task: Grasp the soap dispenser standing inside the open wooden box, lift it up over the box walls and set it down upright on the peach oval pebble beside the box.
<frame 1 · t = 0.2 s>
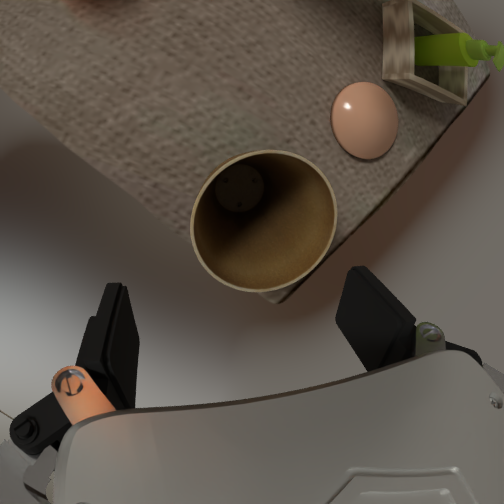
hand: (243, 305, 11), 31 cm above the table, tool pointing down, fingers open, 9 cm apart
peach oval pebble: (364, 120, 40), on the table
soap dispenser: (414, 53, 35), resting in open wooden box
open wooden box: (415, 53, 35), on the table
plant pot: (239, 185, 41), on the table
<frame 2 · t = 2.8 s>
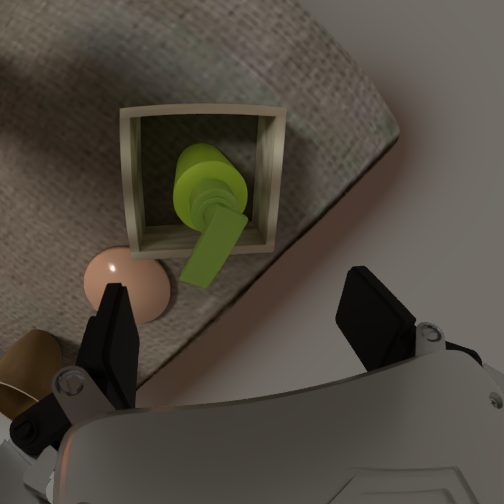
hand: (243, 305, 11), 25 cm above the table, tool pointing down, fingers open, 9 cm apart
peach oval pebble: (127, 285, 38), on the table
soap dispenser: (198, 170, 33), resting in open wooden box
open wooden box: (198, 170, 33), on the table
plant pot: (44, 342, 39), on the table
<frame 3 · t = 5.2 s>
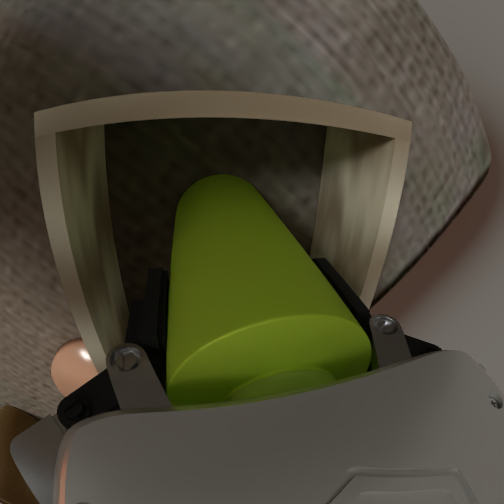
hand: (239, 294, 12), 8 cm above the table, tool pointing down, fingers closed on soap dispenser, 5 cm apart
peach oval pebble: (112, 381, 23), on the table
soap dispenser: (216, 223, 19), resting in open wooden box, touching gripper
open wooden box: (216, 224, 18), on the table
plant pot: (22, 417, 25), on the table
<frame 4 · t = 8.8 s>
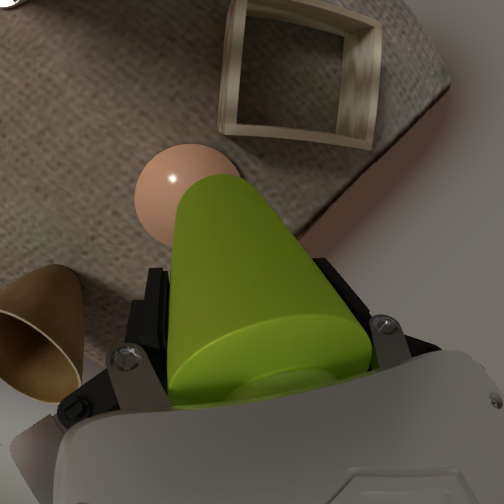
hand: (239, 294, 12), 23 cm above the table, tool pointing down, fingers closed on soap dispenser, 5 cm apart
peach oval pebble: (189, 196, 33), on the table
soap dispenser: (216, 223, 19), point 16 cm above the table, touching gripper
open wooden box: (289, 72, 28), on the table
plant pot: (60, 283, 34), on the table
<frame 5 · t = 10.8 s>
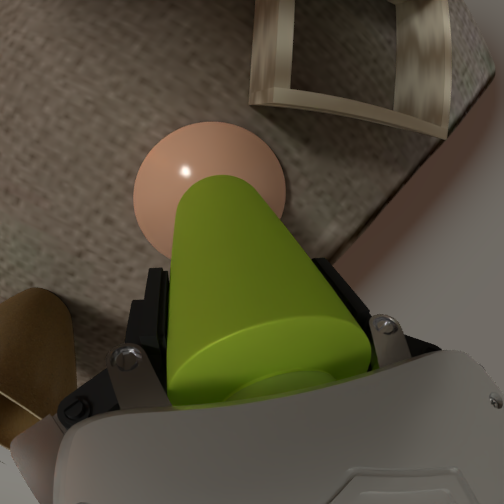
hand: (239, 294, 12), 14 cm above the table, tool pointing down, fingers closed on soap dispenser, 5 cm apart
peach oval pebble: (209, 195, 24), on the table
soap dispenser: (216, 224, 19), point 6 cm above the table, touching gripper
open wooden box: (339, 37, 19), on the table
plant pot: (45, 310, 25), on the table
when the fingers open (10 cm above the table, at t = 12.4 s): soap dispenser drops 2 cm, resting on peach oval pebble.
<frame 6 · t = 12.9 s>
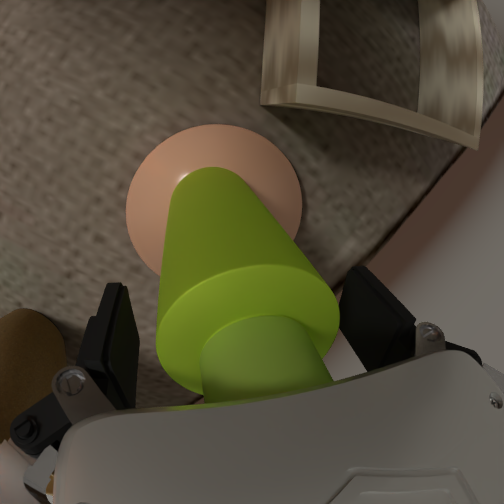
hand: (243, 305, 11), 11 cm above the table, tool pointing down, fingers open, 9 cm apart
peach oval pebble: (214, 210, 21), on the table
soap dispenser: (207, 212, 20), point 1 cm above the table, touching peach oval pebble
open wooden box: (360, 31, 16), on the table
plant pot: (36, 331, 22), on the table
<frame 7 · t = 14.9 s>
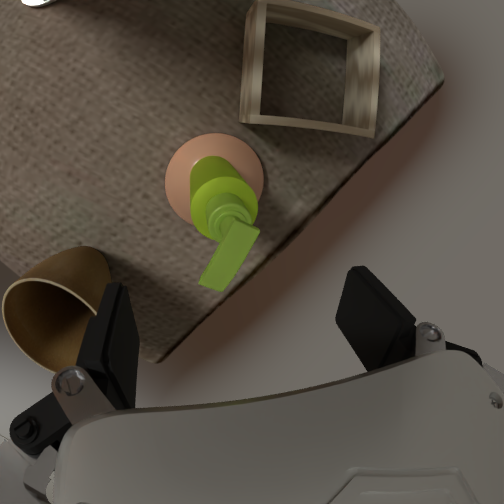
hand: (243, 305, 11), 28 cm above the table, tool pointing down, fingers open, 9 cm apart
peach oval pebble: (214, 180, 37), on the table
soap dispenser: (210, 180, 36), point 1 cm above the table, touching peach oval pebble
open wooden box: (300, 72, 32), on the table
plant pot: (87, 265, 38), on the table
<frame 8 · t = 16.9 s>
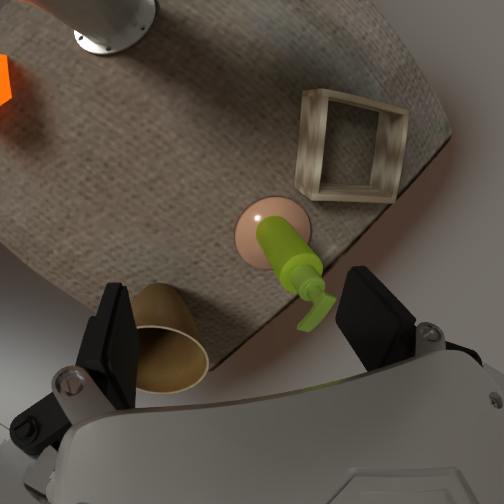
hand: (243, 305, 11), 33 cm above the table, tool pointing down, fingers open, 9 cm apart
peach oval pebble: (272, 232, 48), on the table
soap dispenser: (270, 234, 47), point 1 cm above the table, touching peach oval pebble
open wooden box: (342, 144, 43), on the table
plant pot: (160, 297, 49), on the table
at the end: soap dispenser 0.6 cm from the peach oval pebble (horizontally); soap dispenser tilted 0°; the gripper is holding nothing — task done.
